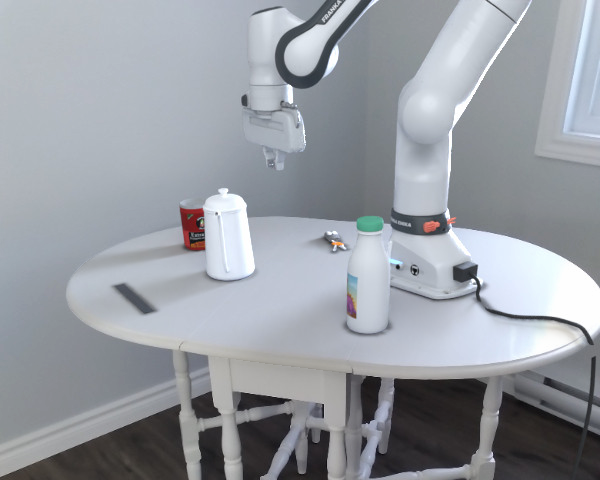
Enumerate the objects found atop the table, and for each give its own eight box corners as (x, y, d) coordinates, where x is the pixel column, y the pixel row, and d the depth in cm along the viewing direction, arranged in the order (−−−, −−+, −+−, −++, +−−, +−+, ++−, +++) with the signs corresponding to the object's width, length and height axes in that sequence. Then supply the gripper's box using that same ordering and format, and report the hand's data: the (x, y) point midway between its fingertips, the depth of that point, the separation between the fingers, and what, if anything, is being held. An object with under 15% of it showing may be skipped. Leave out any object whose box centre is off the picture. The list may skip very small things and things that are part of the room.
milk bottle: (392, 319, 121) (397, 213, 110) (383, 337, 115) (387, 226, 104) (352, 315, 123) (354, 211, 113) (341, 332, 117) (342, 223, 106)
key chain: (322, 236, 166) (322, 231, 165) (336, 235, 166) (336, 229, 165) (333, 252, 155) (333, 246, 154) (348, 251, 155) (348, 245, 154)
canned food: (190, 252, 158) (185, 208, 152) (180, 244, 164) (174, 200, 158) (219, 247, 161) (215, 203, 155) (208, 239, 167) (203, 196, 161)
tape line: (153, 310, 128) (153, 310, 128) (144, 313, 127) (144, 312, 127) (123, 284, 141) (123, 283, 141) (114, 286, 140) (114, 285, 140)
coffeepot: (198, 296, 134) (186, 205, 124) (214, 256, 155) (205, 176, 145) (249, 294, 134) (242, 204, 124) (258, 255, 155) (253, 174, 145)
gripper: (311, 102, 126) (313, 174, 133) (260, 93, 140) (264, 159, 148) (284, 105, 123) (287, 179, 130) (235, 96, 138) (240, 163, 145)
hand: (275, 168), depth 139 cm, fingers closed
